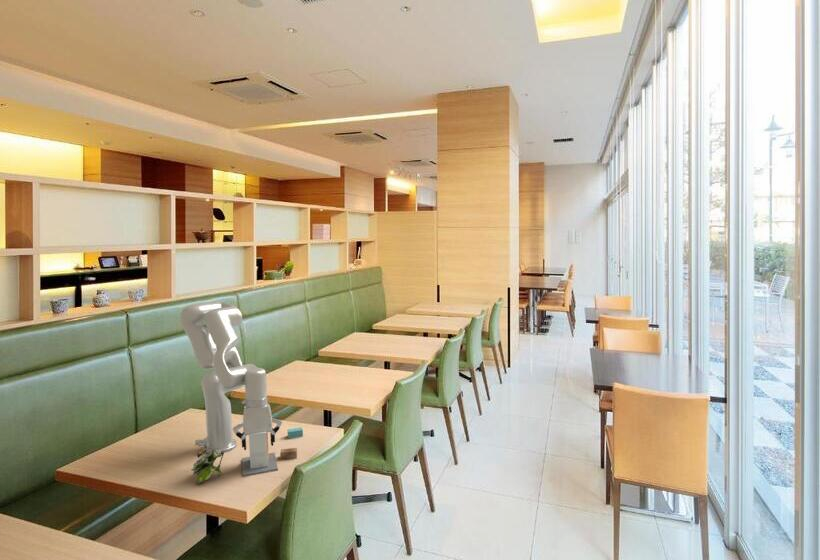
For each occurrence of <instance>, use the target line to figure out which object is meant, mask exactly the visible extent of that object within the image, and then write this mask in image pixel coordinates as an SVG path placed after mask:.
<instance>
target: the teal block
mask: <svg viewBox="0 0 820 560" xmlns="http://www.w3.org/2000/svg"><path fill="white" fill-rule="evenodd" d="M303 431H304V430H303V427H295V428H289V429H287V438H288V439H289V438H290V439H297V438H300V437H304V432H303Z"/></svg>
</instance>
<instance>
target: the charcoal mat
mask: <svg viewBox="0 0 820 560" xmlns="http://www.w3.org/2000/svg"><path fill="white" fill-rule="evenodd" d="M275 454H276V453H275V452H268V455H269V457H268V466H267V467H260V468H252V469H251V468H250V456H246V457H241V460H242V461H241V463H242V464H241V465H242V477H249V476H254V475H259V473H260V474H264V472H265V473H269V471H271V472H274V471H273V470H276V471H278V470H279V468H278V463H277V459H276V455H275Z"/></svg>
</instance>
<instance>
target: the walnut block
mask: <svg viewBox="0 0 820 560" xmlns="http://www.w3.org/2000/svg"><path fill="white" fill-rule="evenodd" d="M279 454H280V460H281V461H283V459H284V460H292V459H293V460H294V459H297V458H298V448H297V447H292V448H291V447H290V448H281V449H280V453H279Z"/></svg>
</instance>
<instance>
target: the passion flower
mask: <svg viewBox="0 0 820 560" xmlns="http://www.w3.org/2000/svg"><path fill="white" fill-rule="evenodd" d="M206 451H207V449H206V450H204V449H203V450H201V451H200V452H198V453H196V454H197V455H196V457H197V460H195V462H194V463H193V467H192V468H191V469H190V471H191V472H193V473H192V474H193V475H196V476H195V484H196V485H198V484H200V483H202V482H203V481H204V482H205V481H207V480H208V479H210V477H211V476H213V472H215V473H216V474H218V476H220V475H221V474H223V471H222V470H221V464H222V461H223V457H224V453H225V452H223V450H222V451H220V452H219V453H216V451H215V450H212V451H211V452H209V453H207V452H206ZM205 453H206V454H205ZM217 458H220V461H219V463H218V465H217V466H214V462H215V461H217Z"/></svg>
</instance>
